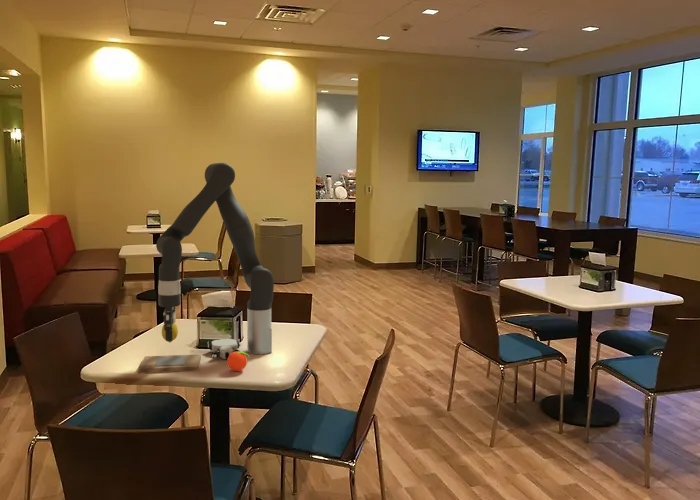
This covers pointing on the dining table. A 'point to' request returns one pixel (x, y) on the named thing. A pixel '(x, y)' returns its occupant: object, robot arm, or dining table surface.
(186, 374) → the dining table surface
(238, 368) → the clementine
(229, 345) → the robot toy
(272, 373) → the dining table surface
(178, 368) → the serving board
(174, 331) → the lemon
